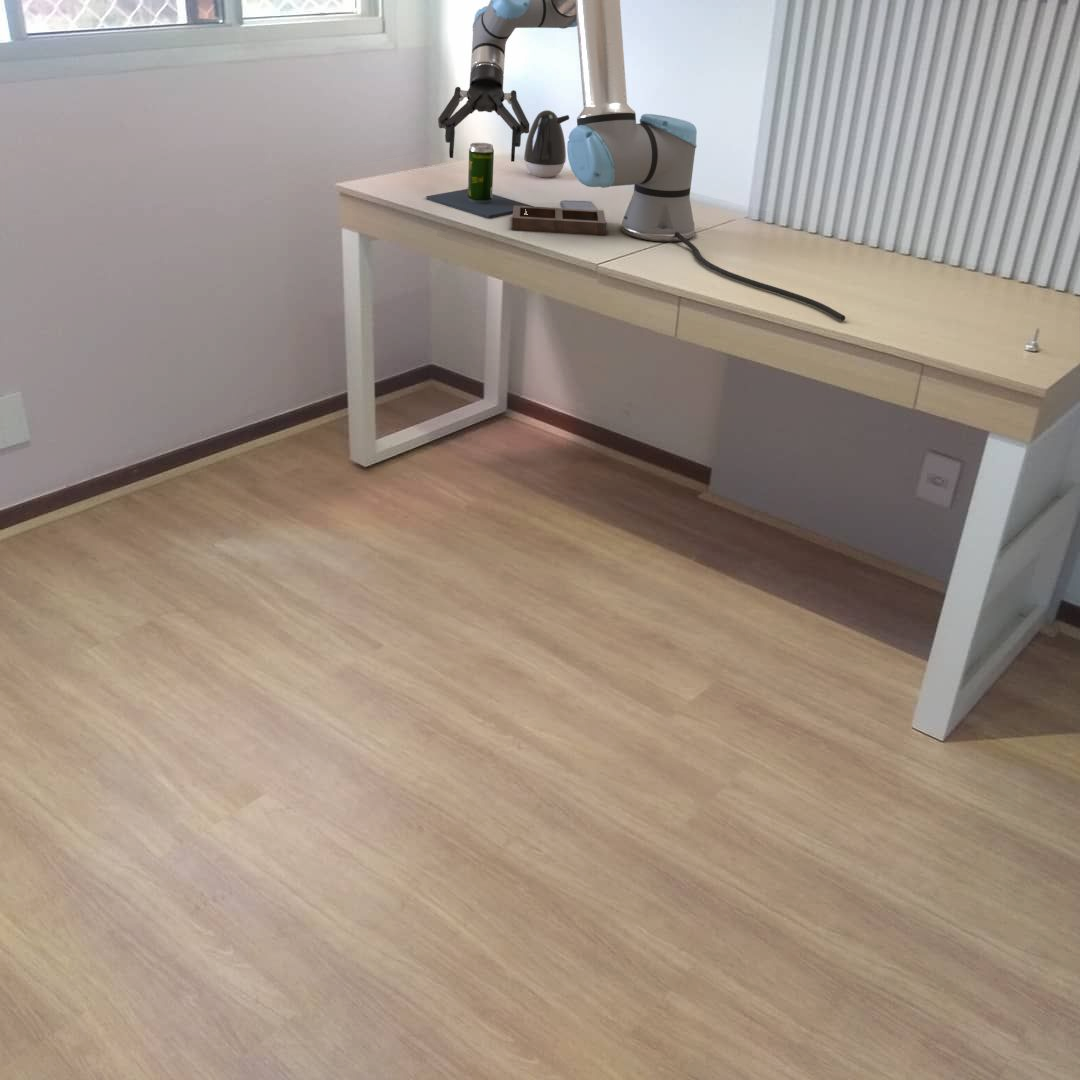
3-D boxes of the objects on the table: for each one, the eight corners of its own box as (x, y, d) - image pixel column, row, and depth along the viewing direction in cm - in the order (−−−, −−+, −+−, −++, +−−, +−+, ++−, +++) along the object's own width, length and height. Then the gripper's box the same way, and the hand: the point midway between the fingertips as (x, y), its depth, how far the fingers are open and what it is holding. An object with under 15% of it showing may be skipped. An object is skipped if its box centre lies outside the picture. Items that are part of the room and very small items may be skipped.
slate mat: (534, 209, 256) (534, 206, 256) (488, 218, 247) (488, 215, 247) (471, 190, 268) (471, 187, 267) (426, 198, 258) (426, 196, 258)
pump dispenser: (565, 181, 281) (569, 115, 273) (522, 178, 281) (525, 112, 273) (565, 171, 290) (569, 108, 282) (524, 169, 290) (527, 105, 282)
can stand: (602, 222, 250) (603, 210, 248) (604, 235, 240) (605, 223, 239) (513, 217, 249) (513, 205, 248) (511, 229, 240) (512, 217, 239)
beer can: (491, 198, 260) (493, 142, 254) (492, 204, 255) (494, 148, 249) (467, 197, 259) (468, 142, 253) (468, 203, 254) (469, 147, 248)
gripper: (541, 87, 265) (537, 169, 260) (432, 80, 264) (426, 162, 259) (543, 65, 258) (539, 149, 252) (430, 59, 257) (424, 142, 252)
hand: (481, 156), depth 256 cm, fingers open, 13 cm apart
